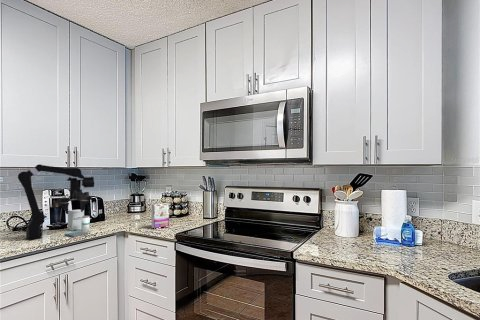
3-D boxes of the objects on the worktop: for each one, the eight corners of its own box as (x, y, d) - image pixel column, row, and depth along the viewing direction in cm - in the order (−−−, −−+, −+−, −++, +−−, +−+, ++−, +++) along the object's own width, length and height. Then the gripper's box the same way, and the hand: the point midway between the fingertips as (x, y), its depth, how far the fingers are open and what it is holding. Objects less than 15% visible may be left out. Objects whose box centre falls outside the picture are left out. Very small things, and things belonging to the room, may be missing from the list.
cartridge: (84, 232, 174) (84, 216, 174) (79, 231, 176) (79, 216, 176) (91, 230, 178) (91, 215, 178) (86, 230, 180) (86, 215, 181)
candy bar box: (166, 226, 194) (166, 203, 195) (169, 227, 190) (169, 203, 191) (150, 228, 187) (151, 204, 188) (153, 229, 183) (154, 205, 184)
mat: (73, 237, 161) (73, 235, 161) (64, 235, 165) (64, 233, 165) (88, 234, 169) (88, 232, 169) (79, 232, 173) (79, 230, 173)
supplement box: (71, 230, 178) (72, 211, 179) (67, 229, 183) (67, 210, 183) (83, 228, 184) (84, 210, 184) (79, 227, 189) (79, 209, 189)
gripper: (67, 189, 158) (67, 216, 158) (97, 187, 175) (96, 211, 175) (56, 188, 164) (55, 214, 163) (86, 186, 180) (85, 210, 180)
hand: (74, 212), depth 170 cm, fingers open, 9 cm apart
